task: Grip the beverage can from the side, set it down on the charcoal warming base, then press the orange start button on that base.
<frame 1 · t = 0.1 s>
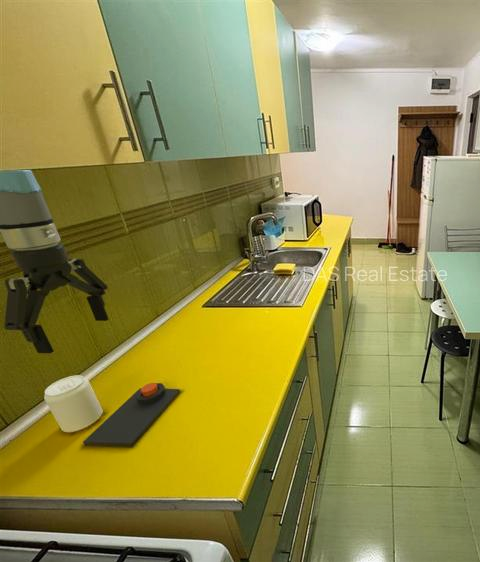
hand: (76, 334, 70), 26 cm above the counter, tool pointing down, fingers open, 13 cm apart
start button: (149, 389, 85), point 4 cm above the counter, slide at 0.2 cm
warming base: (137, 416, 81), on the counter
beverage can: (83, 421, 79), on the counter
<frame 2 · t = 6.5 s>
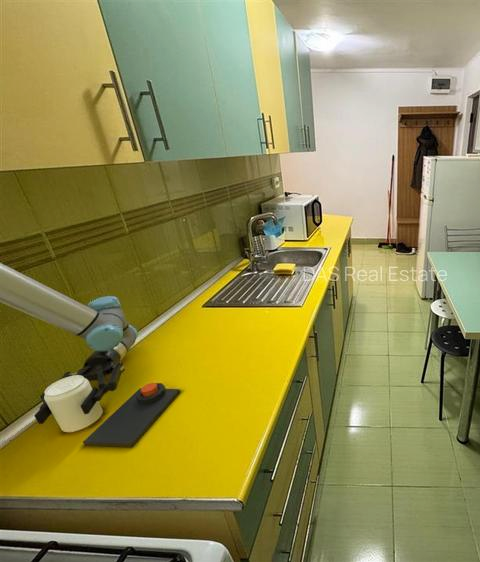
hand: (62, 414, 72), 7 cm above the counter, tool horizontal, fingers closed on beverage can, 8 cm apart
beverage can: (84, 421, 79), on the counter, touching gripper
everything else where it was.
when the fingers open (8 cm above the counter, at t = 13.2 s): beverage can stays where it is, resting on warming base.
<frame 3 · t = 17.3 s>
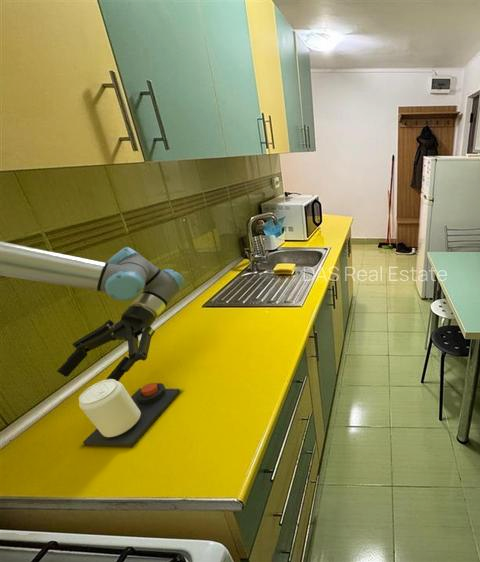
hand: (85, 378, 76), 12 cm above the counter, tool tilted 65°, fingers open, 13 cm apart
beverage can: (123, 424, 76), point 1 cm above the counter, touching gripper, warming base
everything else where it was.
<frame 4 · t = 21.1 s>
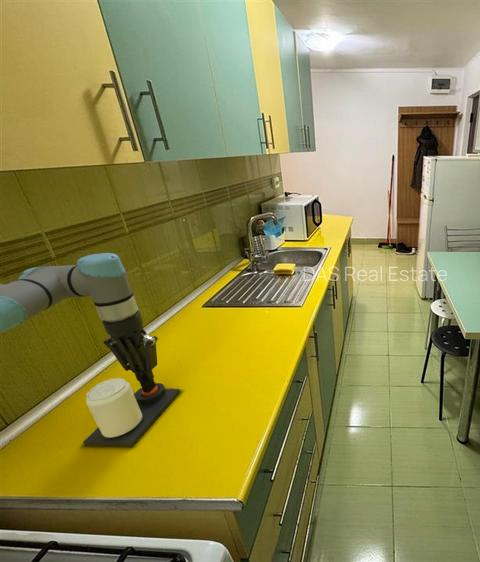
hand: (149, 388, 85), 4 cm above the counter, tool pointing down, fingers closed
start button: (150, 392, 85), point 3 cm above the counter, slide at -0.7 cm, touching gripper
beverage can: (123, 426, 76), point 1 cm above the counter, touching warming base
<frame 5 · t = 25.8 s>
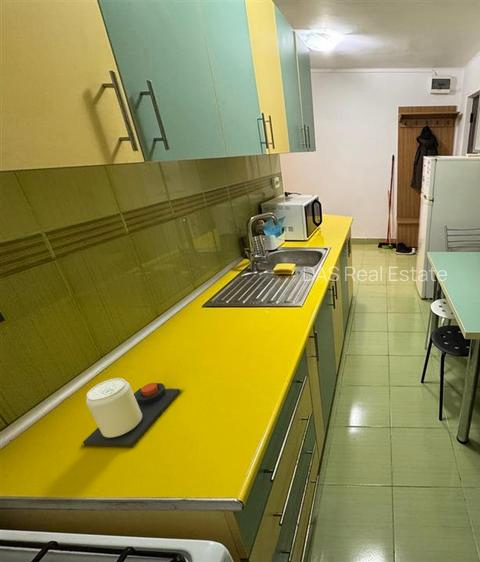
start button: (149, 389, 85), point 4 cm above the counter, slide at 0.1 cm
everything else where it was.
at the end: beverage can inside the target area on the warming base (0.4 cm from its centre), point 1.0 cm above the warming base's base; beverage can touching warming base; start button pushed in 1.0 cm at the most during the clip, back to where it started at the end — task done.
